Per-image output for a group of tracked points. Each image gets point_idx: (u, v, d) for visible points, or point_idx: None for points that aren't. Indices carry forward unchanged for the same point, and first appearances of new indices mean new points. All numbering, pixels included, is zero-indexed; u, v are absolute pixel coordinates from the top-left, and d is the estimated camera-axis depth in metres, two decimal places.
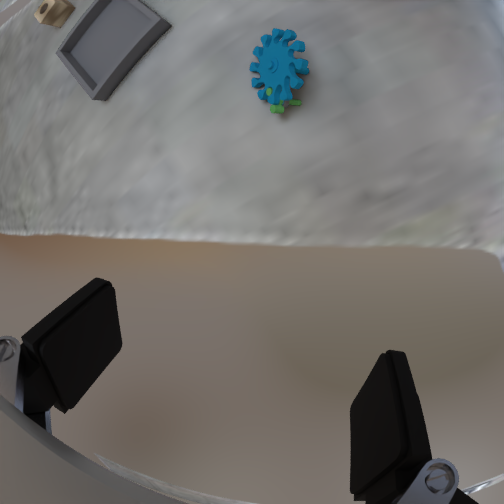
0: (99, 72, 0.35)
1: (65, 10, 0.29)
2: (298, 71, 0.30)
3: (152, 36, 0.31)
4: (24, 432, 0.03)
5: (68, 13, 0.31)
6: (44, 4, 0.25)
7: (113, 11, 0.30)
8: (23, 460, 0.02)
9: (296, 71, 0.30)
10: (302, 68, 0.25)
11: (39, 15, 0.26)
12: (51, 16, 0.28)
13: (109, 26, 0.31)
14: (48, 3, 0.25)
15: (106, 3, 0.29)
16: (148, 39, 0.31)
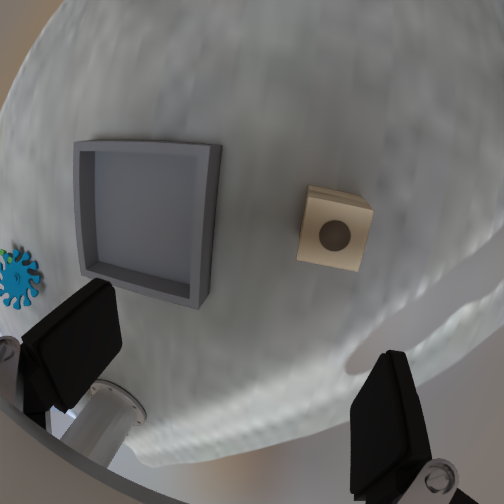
0: (118, 164, 0.28)
1: None
2: None
3: None
4: (24, 432, 0.03)
5: (302, 221, 0.26)
6: (347, 246, 0.21)
7: (176, 255, 0.30)
8: (23, 460, 0.02)
9: None
10: None
11: (335, 214, 0.20)
12: (304, 216, 0.22)
13: (159, 231, 0.30)
14: (327, 252, 0.22)
15: None
16: None
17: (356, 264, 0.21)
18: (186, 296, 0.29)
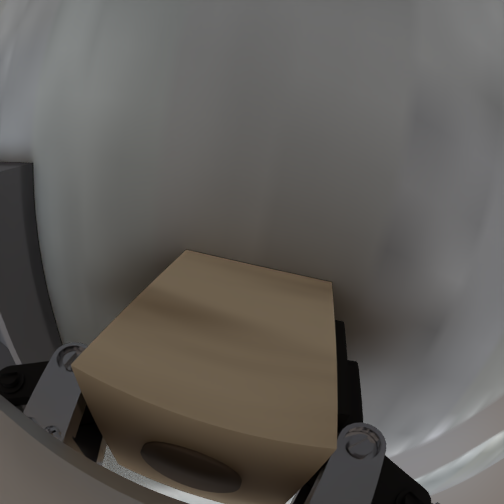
0: None
1: None
2: None
3: None
4: (24, 432, 0.03)
5: None
6: (237, 488, 0.05)
7: None
8: (23, 460, 0.02)
9: None
10: None
11: (174, 434, 0.04)
12: None
13: None
14: (181, 481, 0.06)
15: None
16: None
17: None
18: None
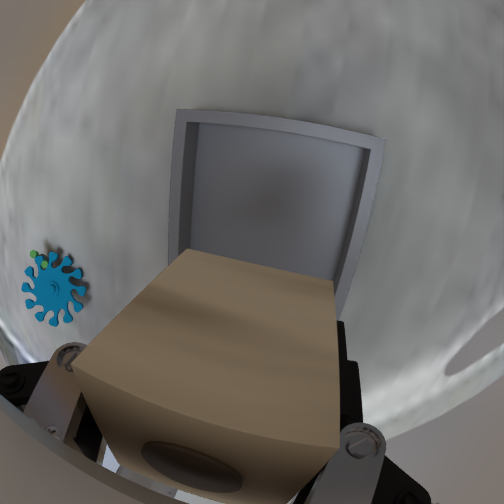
0: (237, 145, 0.23)
1: None
2: None
3: None
4: (24, 432, 0.03)
5: None
6: (238, 488, 0.05)
7: (307, 261, 0.26)
8: (23, 460, 0.02)
9: None
10: None
11: (175, 434, 0.04)
12: None
13: (290, 232, 0.25)
14: (182, 481, 0.06)
15: (336, 274, 0.25)
16: None
17: None
18: None
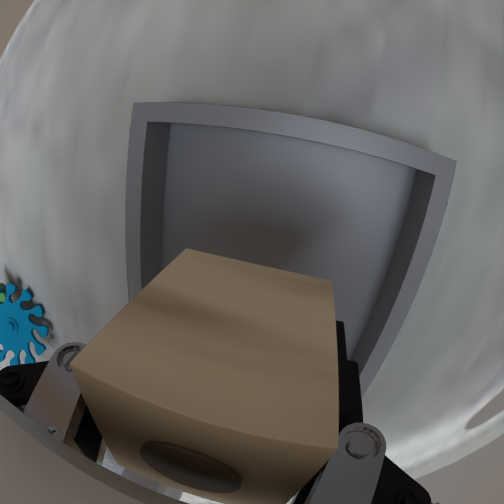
0: (226, 158, 0.15)
1: None
2: None
3: None
4: (24, 432, 0.03)
5: None
6: (237, 488, 0.05)
7: None
8: (23, 460, 0.02)
9: None
10: None
11: (173, 434, 0.04)
12: None
13: None
14: (181, 481, 0.06)
15: (361, 342, 0.17)
16: None
17: None
18: None
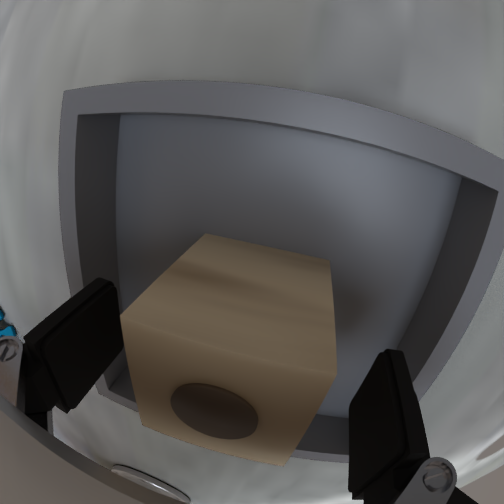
0: (191, 160, 0.11)
1: None
2: None
3: None
4: (24, 432, 0.03)
5: None
6: (253, 433, 0.07)
7: None
8: (23, 460, 0.02)
9: None
10: None
11: (205, 371, 0.06)
12: None
13: None
14: (202, 432, 0.07)
15: None
16: None
17: (279, 458, 0.07)
18: (345, 449, 0.12)
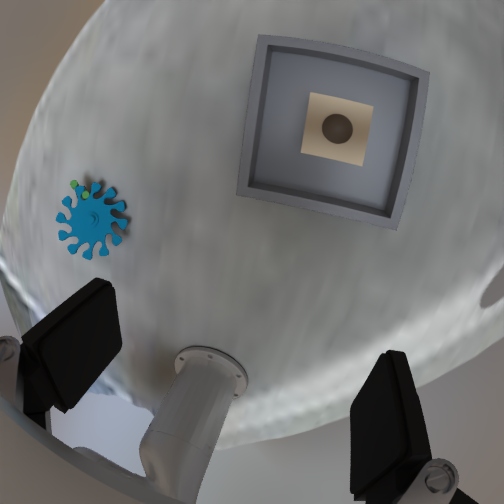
0: (306, 71, 0.23)
1: None
2: None
3: None
4: (24, 432, 0.03)
5: None
6: (350, 139, 0.20)
7: (367, 175, 0.26)
8: (23, 460, 0.02)
9: None
10: (59, 232, 0.31)
11: (337, 108, 0.19)
12: None
13: None
14: (330, 145, 0.21)
15: (392, 186, 0.26)
16: None
17: (360, 158, 0.21)
18: (385, 216, 0.25)
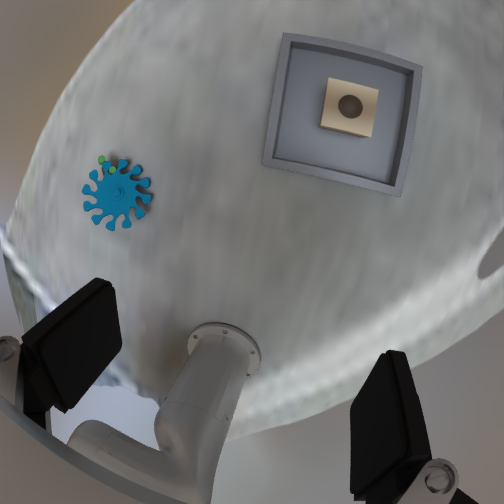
0: (321, 65, 0.27)
1: (321, 117, 0.28)
2: None
3: None
4: (24, 432, 0.03)
5: None
6: (361, 115, 0.24)
7: (372, 152, 0.30)
8: (23, 460, 0.02)
9: None
10: None
11: (349, 90, 0.23)
12: None
13: None
14: (345, 119, 0.24)
15: (394, 161, 0.29)
16: None
17: (369, 131, 0.24)
18: (389, 185, 0.29)
